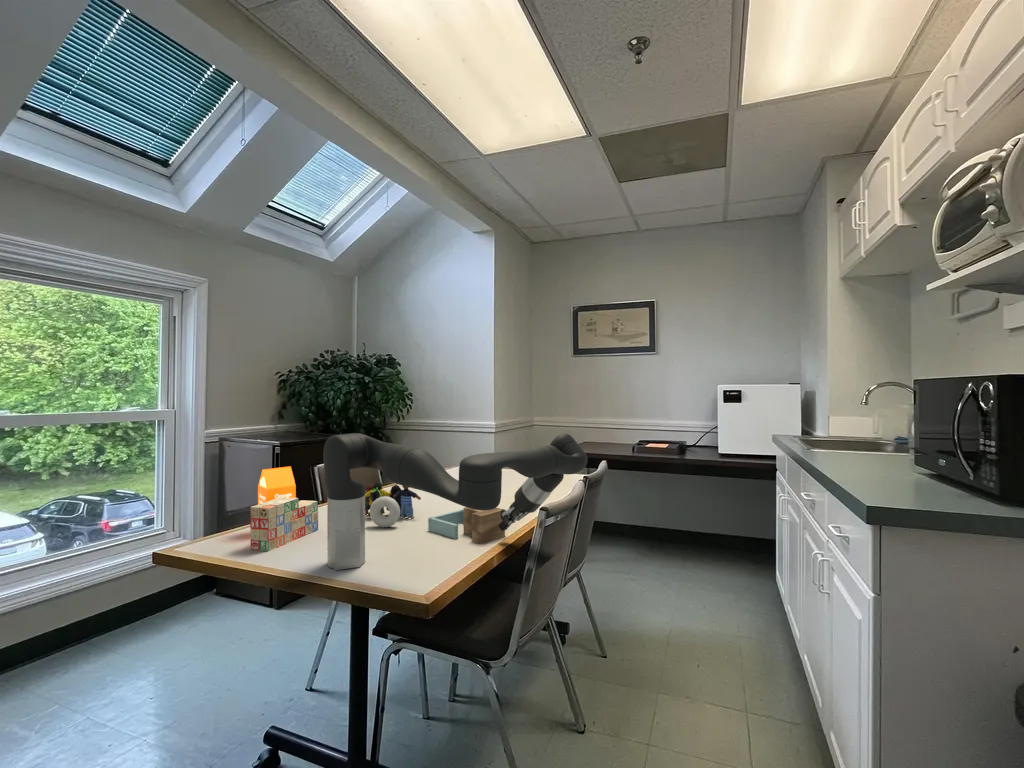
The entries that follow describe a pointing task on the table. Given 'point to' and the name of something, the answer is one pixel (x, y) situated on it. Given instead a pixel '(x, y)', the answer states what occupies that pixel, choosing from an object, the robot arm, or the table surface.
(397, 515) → the donut
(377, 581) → the table surface
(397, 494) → the doll family
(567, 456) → the robot arm
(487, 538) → the tee block
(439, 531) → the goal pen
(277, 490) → the orange juice
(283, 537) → the stack of blocks
